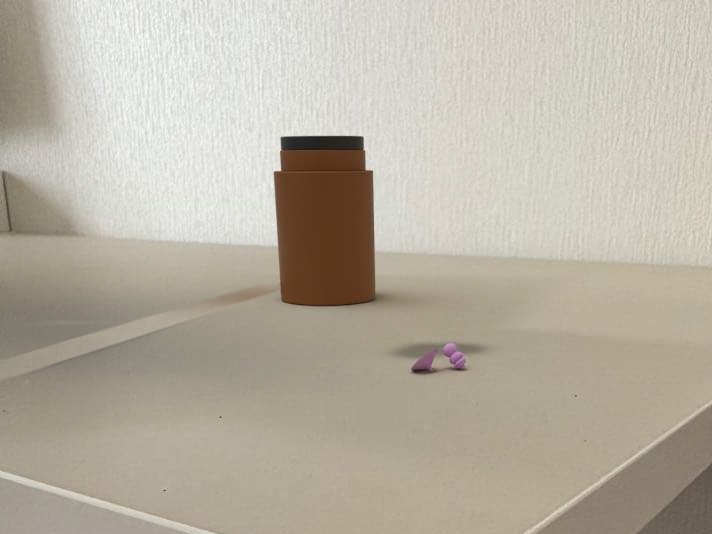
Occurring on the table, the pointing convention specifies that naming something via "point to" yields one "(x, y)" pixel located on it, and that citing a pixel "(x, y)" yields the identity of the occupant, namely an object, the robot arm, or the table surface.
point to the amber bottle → (325, 221)
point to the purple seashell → (448, 351)
